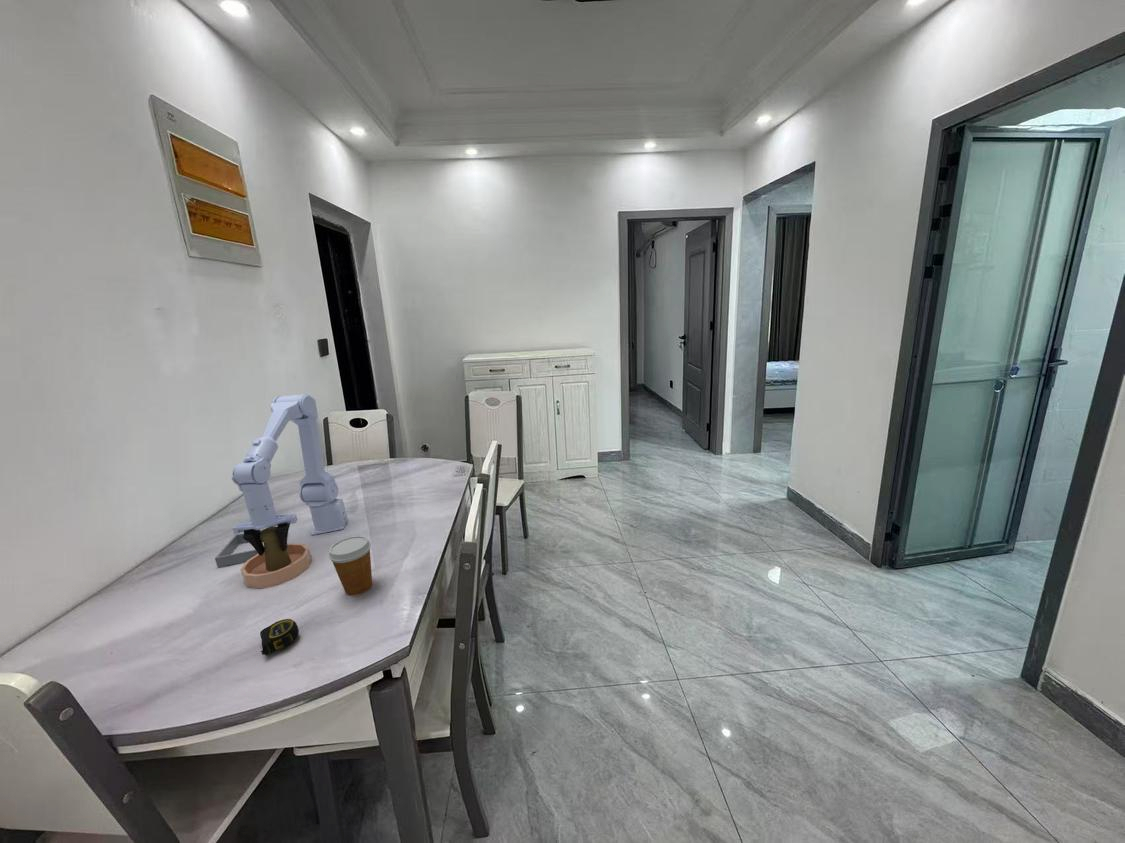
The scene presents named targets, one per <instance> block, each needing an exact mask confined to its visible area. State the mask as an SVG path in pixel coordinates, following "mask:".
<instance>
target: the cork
mask: <svg viewBox="0 0 1125 843" xmlns="http://www.w3.org/2000/svg"><path fill="white" fill-rule="evenodd" d="M277 527H278V526H272V527H267V528H264V530H263V529H261V530H262V531H261V533H260V540H261V541H262V542H263V546H264V552H265V564H266V570H268V571H276V570H279V569H281V568H284V567H286V566H288V565H289V564H290V563H291V559H290V557H289V555H288V552H287V550H285V551H282V549H281V545H280V541H279V538H278V536H277V534H276V533H275V529H276V528H277Z"/></svg>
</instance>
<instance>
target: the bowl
mask: <svg viewBox="0 0 1125 843" xmlns="http://www.w3.org/2000/svg"><path fill="white" fill-rule="evenodd" d="M286 550H287V552H288V555H289V557H290V559H291V563H290V564H289V565H288V566H286V567H284V568H281V569H279V570H276V571H268V570H266V564H265V552H264V553H263V555H261V556H259V554H257V555H255V556H254V557H252V558H251V559H249V560H248V561H246V562H244V564H243V565H242V566H241V568H240V573H241V576H242V579H243V581H244V583H245V585H246V586H247V588H253V589H255V588H256V589H264V588H268V587H272V586H278V585H280V584H284V583H285V582H287V581H289V580H292V579H294V578H296V577H298V576H299V575H300V574H302V573H303V572H304V571H306V570H307V569H308V568H309V567H310V565H311V563H312V560H313V558H312V555H311V550H310V548H309V547H308V546H307V545H306V544H305V543H296V542H291V543H287V549H286Z"/></svg>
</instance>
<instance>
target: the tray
mask: <svg viewBox="0 0 1125 843" xmlns="http://www.w3.org/2000/svg"><path fill="white" fill-rule="evenodd" d="M264 529H265V528H264ZM264 529H261V530H260V533H261V531H262V530H264ZM243 535H244V532H241V533H239V534H234V536H232V538H230V540H229V541H228V543H227V544H226V545H225V546H224V547H223V548H222V549H221V551H220V552H218V554H217V555H216V556H215V558H214V561H215V563H216V566H217V568H223V567H222V566H224V567H227V566H226V565H229V566H232V565H231V564H234V565H237V564H236V563H239V564H243V563H242V562H244V563H245V562H246V561H248V560H249V559H251V558H252V557H254V556H255V555H257V554H258V552H257V551H256V550H255V549H251V550H247V551H246V550H245V551H243V552H242V551H241V552H237V553H233V552H234V551H235V550H236V549H237V547H239V545H241V544H245V543H246V542H247V541H246V540H245V539H244V538H243ZM240 543H241V544H240ZM247 543H248V542H247ZM247 543H246V544H247ZM235 548H236V549H235ZM234 549H235V550H234ZM231 553H232V554H231Z"/></svg>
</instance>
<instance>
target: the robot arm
mask: <svg viewBox="0 0 1125 843" xmlns="http://www.w3.org/2000/svg"><path fill="white" fill-rule="evenodd" d="M316 401H317V400H316V399H315V398H314V397H313V396H312V395H310V394H309V393H304V394H293V395H277V396H275V397H274V398H273V399H272V403H271V404H270V411H271V415H270V418H269V420H268V422H267V424H266V427H265V430H264V432H263V434H262V435H261V436H260V437H257V438H255V439H254V440H253V441H252V444H251V446H250V447H249V450H248V451H247V453H246V455H245V457H244V459H243V461H242V462H239V463H238V464H237V465H236V466H234V467H233V470H232V477H231V480H232V482H233V483H234V484H235V485H236V486H237V487H238V489H239V491H240V492H242V495H243V498H244V502H245V506H246V508H247V512H248V515H249V519H250V520H248V521H245V522H241V523H236V524H234V526H233V527H232V531H233V532H232V533H233V534H234V535H237V534H241V533H244V535H243V538H244V539H245V540H246V541H247V543H249V544H250V545H251V546H252V548H254V550H256V551H257V552H258V554H259V556H261V555H263V553H264V543H263V542H262V541H261V540H260V530H263V529H265V528H268V527H272V526H277V528H276V529H275V533H276V534H277V536H278V538H279V541H280V545H281V549H282V551H285V550H286V549H287V544H288V535H289V529H290V527H291V526H290V525H291V524H296V523H297V522H298V516H297V514H296V513H291V514H277V511H276V507H275V504H274V501H273V497H272V494H271V490H270V487H269V484H268V480H269V478H270V477H271V467H272V463H271V462H272V461H273V459H274V456H275V454H276V452H277V451H278V449H279V445H278V443H277V441H278V439H279V437H280V436H281V435H282V432H283V431H284V430H285V428H286V426H287V424H289V422H292V423H294V424H296V425H297V427H298V428H297V430H298V435H299V442H300V445H301V446H300V448H301V452H302V459H303V460H302V462H303V465H304V466H303V467H304V473H305V475H304V476H303V477H302V478H301V479H300V480H299V491H298V495H299V499H300V501H302V503H305V505H306V506H308V507H309V511H310V515H311V518H312V523H313V530H312V532H311V536H315V535H320V534H326V533H330V532H336V531H340V530H344V529H345V527H346V524H347V522H348V519H349V518H348V516H347V512H346V507H345V504H344V500H343V498H337V497H338V495H339V487H338V484H337V483H336V480H335V476H334V475H332V474H331V473H328V472H326V471H325V465H324V457H323V451H322V446H321V445H322V444H321V438H320V432H319V426H318V425H319V424H318V418H319V414H318V408H317V402H316Z"/></svg>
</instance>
